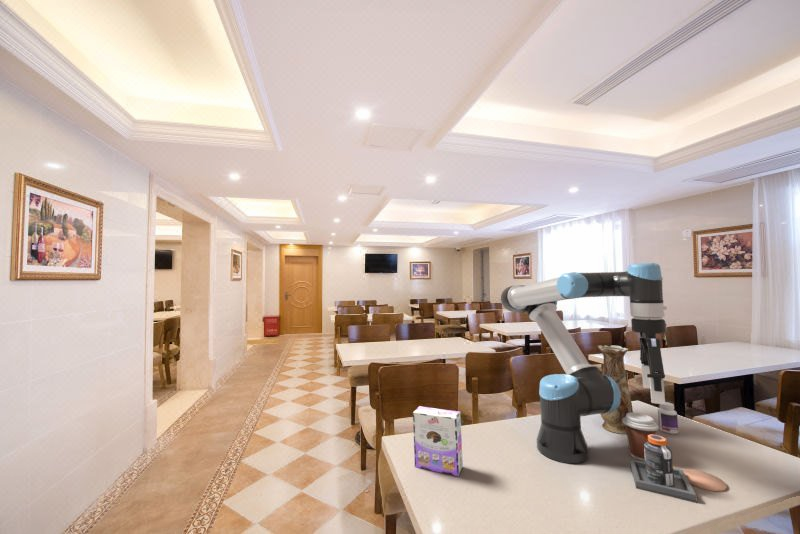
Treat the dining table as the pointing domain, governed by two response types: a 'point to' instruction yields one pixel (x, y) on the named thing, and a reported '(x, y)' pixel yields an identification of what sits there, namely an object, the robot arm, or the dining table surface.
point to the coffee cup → (639, 432)
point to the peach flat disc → (704, 480)
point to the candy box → (438, 440)
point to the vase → (616, 371)
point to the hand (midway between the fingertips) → (653, 395)
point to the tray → (678, 490)
